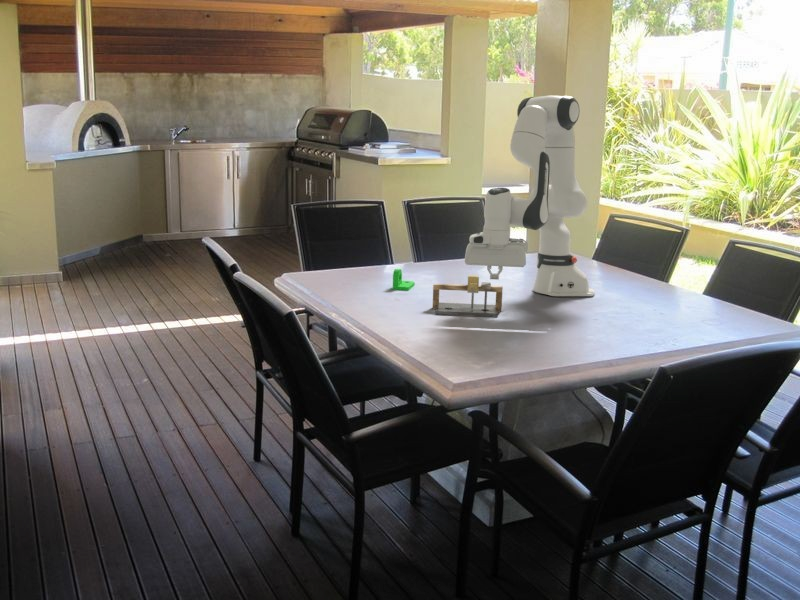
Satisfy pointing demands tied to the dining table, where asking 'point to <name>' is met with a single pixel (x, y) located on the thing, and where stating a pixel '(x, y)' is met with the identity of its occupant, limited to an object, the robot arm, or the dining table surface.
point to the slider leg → (473, 286)
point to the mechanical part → (398, 282)
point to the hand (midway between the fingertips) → (494, 279)
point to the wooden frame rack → (483, 287)
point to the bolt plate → (466, 310)
